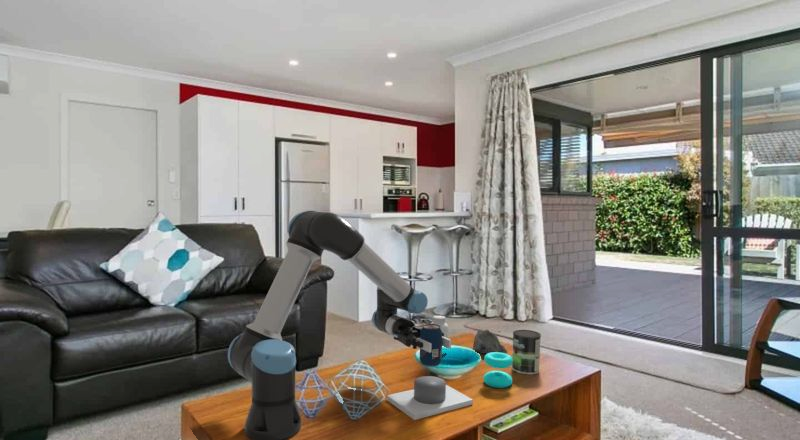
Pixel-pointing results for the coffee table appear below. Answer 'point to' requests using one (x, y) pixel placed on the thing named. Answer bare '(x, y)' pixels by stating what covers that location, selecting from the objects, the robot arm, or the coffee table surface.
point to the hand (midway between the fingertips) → (440, 346)
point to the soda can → (434, 336)
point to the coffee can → (526, 351)
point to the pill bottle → (441, 324)
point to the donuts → (498, 377)
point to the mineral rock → (487, 343)
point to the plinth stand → (429, 398)
